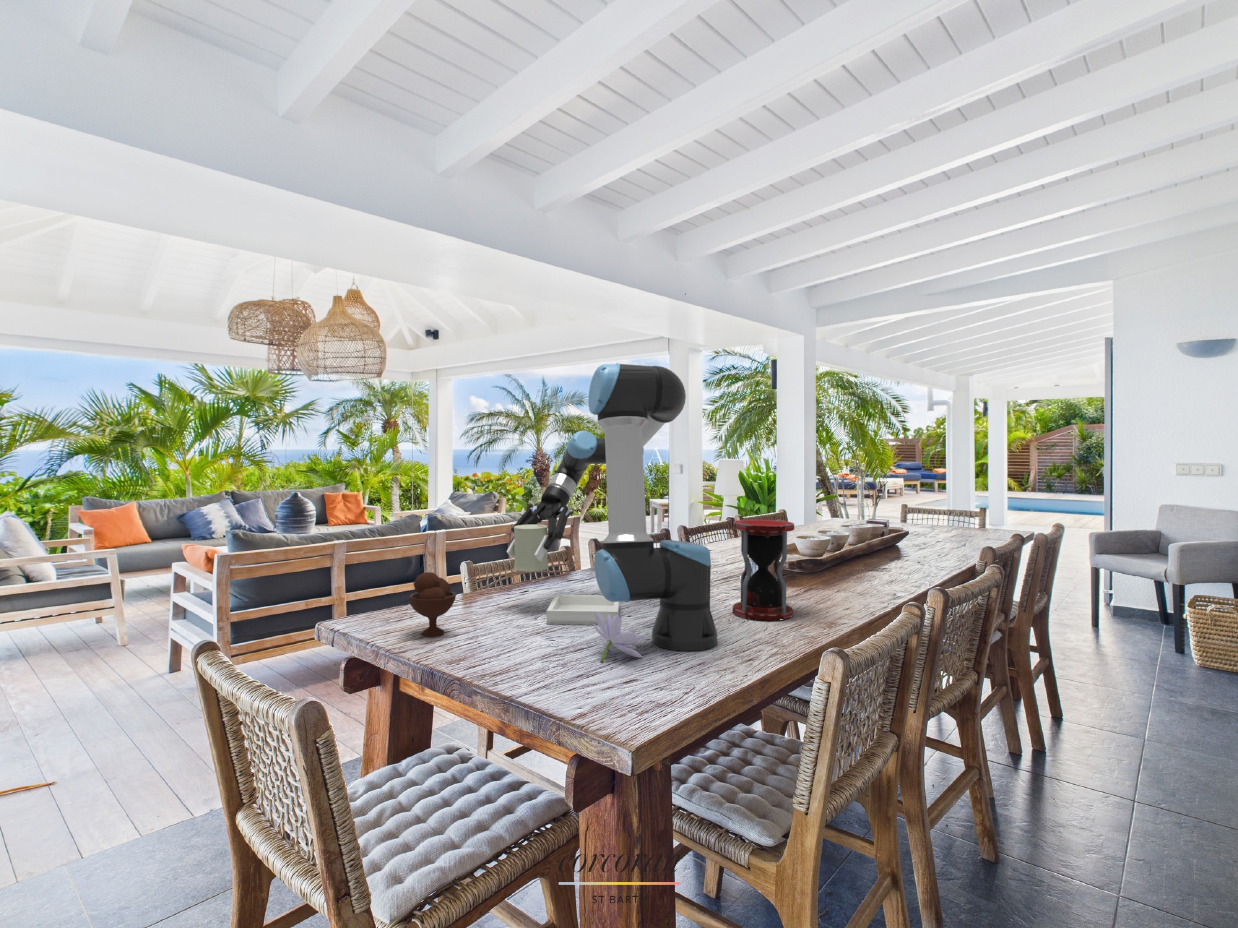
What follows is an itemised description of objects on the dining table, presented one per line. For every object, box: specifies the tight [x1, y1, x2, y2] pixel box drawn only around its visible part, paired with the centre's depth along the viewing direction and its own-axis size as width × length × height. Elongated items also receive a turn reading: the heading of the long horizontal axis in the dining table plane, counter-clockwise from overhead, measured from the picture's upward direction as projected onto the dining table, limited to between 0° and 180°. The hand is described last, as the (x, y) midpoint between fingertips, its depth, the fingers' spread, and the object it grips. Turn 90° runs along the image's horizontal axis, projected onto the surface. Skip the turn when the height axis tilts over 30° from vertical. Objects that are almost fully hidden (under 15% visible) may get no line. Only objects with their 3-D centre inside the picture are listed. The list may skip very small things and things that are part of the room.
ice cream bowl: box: [408, 571, 457, 638], centre depth 160 cm, size 11×11×15 cm
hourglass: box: [732, 518, 795, 622], centre depth 181 cm, size 16×16×25 cm
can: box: [513, 524, 549, 573], centre depth 182 cm, size 9×9×12 cm
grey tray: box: [546, 594, 621, 626], centre depth 178 cm, size 18×18×4 cm
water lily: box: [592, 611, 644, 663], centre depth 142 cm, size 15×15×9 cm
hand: (523, 556), depth 179 cm, fingers closed on can, 9 cm apart
